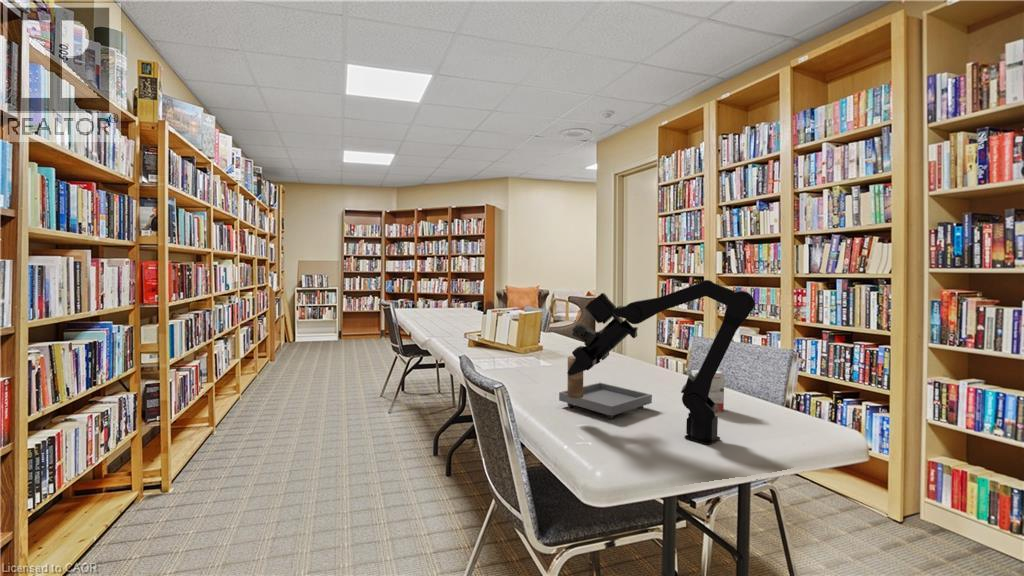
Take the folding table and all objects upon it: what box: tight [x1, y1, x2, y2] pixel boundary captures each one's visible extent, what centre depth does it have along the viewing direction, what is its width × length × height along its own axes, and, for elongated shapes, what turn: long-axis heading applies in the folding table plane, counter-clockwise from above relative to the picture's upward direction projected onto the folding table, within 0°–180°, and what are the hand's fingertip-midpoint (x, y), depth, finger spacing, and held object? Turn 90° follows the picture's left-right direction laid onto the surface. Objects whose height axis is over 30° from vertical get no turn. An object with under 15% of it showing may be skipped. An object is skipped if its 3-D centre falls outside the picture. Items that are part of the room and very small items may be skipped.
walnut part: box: [567, 355, 584, 398], centre depth 135 cm, size 4×4×11 cm
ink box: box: [691, 369, 725, 413], centre depth 148 cm, size 9×5×12 cm, turn 84°
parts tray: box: [558, 382, 653, 420], centre depth 149 cm, size 20×20×4 cm
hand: (571, 372), depth 136 cm, fingers closed on walnut part, 4 cm apart
